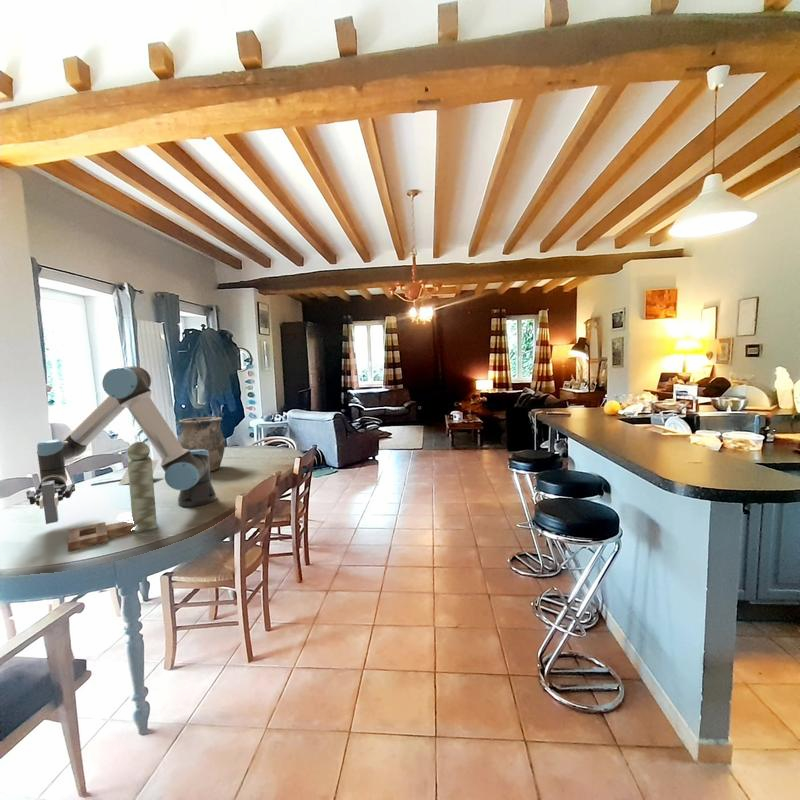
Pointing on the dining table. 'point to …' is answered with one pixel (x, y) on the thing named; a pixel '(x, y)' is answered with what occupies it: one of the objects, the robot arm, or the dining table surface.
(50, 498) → the grey rectangular block
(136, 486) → the knobbed post on base
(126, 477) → the wall
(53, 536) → the dining table surface
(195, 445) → the clay pot
